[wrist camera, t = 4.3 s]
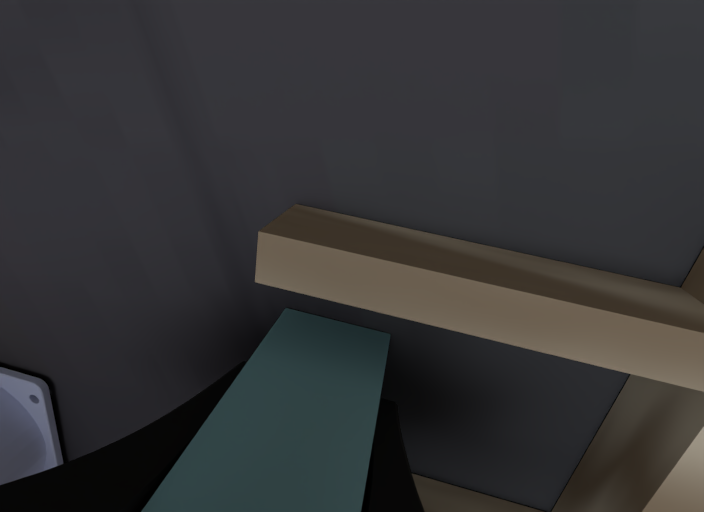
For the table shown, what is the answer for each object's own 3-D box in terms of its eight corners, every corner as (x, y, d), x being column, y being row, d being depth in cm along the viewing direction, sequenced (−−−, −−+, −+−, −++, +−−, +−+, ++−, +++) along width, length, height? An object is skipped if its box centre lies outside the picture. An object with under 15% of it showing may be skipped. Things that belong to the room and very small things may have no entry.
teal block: (370, 415, 15) (316, 700, 8) (276, 389, 16) (143, 636, 8) (390, 334, 14) (347, 594, 6) (285, 308, 14) (132, 524, 7)
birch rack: (539, 599, 17) (560, 692, 15) (261, 512, 19) (233, 581, 16) (824, 162, 10) (984, 185, 7) (310, 71, 11) (271, 60, 8)
